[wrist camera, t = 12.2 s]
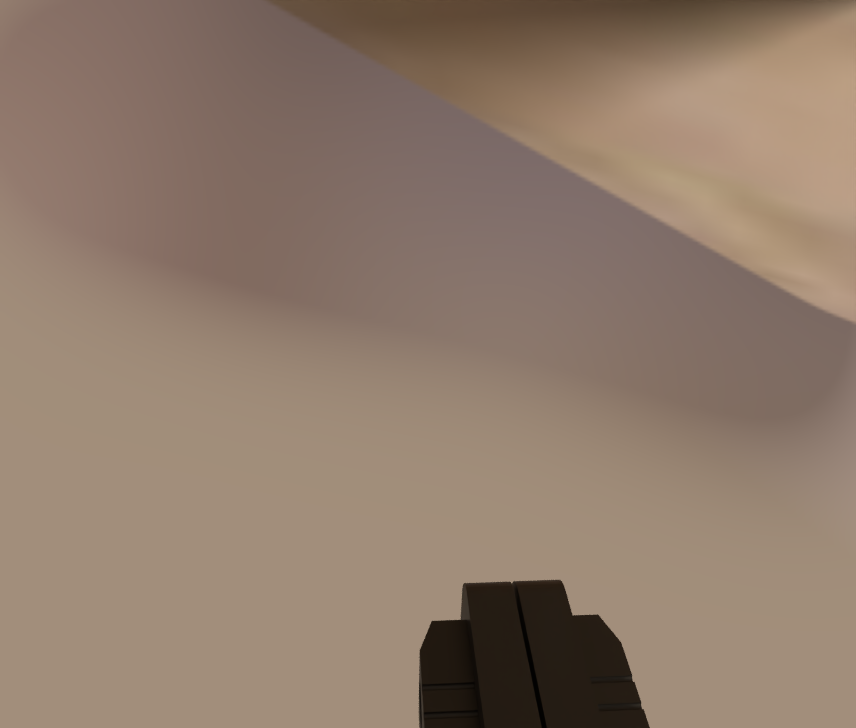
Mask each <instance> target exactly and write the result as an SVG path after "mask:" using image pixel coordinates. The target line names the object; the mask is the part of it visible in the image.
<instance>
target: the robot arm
mask: <svg viewBox="0 0 856 728" xmlns="http://www.w3.org/2000/svg"><path fill="white" fill-rule="evenodd" d="M419 668H420V669H419V671H420V673H419V727H420V728H650V727H649V724H648V721H647V718H646V715H645V713H644V710H643V709H642V707H641V700H640V698H639V695H638V692H637V689H636V685H635V682H633V681H632V674H631V671H630V668H629V665H628V662H627V659H626V656H625V653H624V650H623V647H622V644H621V642H620V641H619V639H618V638H617V637H616V636H615V635H614V633H613V632H612V631H611V630H610V629H609V628H608V626H607V625H606V624H605V623H604V621H603V620H602V619H601V618H600V616H599V615H576V616H575V615H574V616H572V612H571V609H570V605H569V601H568V598H567V594H566V591H565V588H564V585H563V583H562V581H561V580H540V581H514V582H513V583H512V584H511V582H490V583H464V584H463V589H462V607H461V620H446V621H432V622H431V624H430V627H429V629H428V632H427V634H426V637H425V639H424V642H423V644H422V647H421V649H420V667H419Z"/></svg>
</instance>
